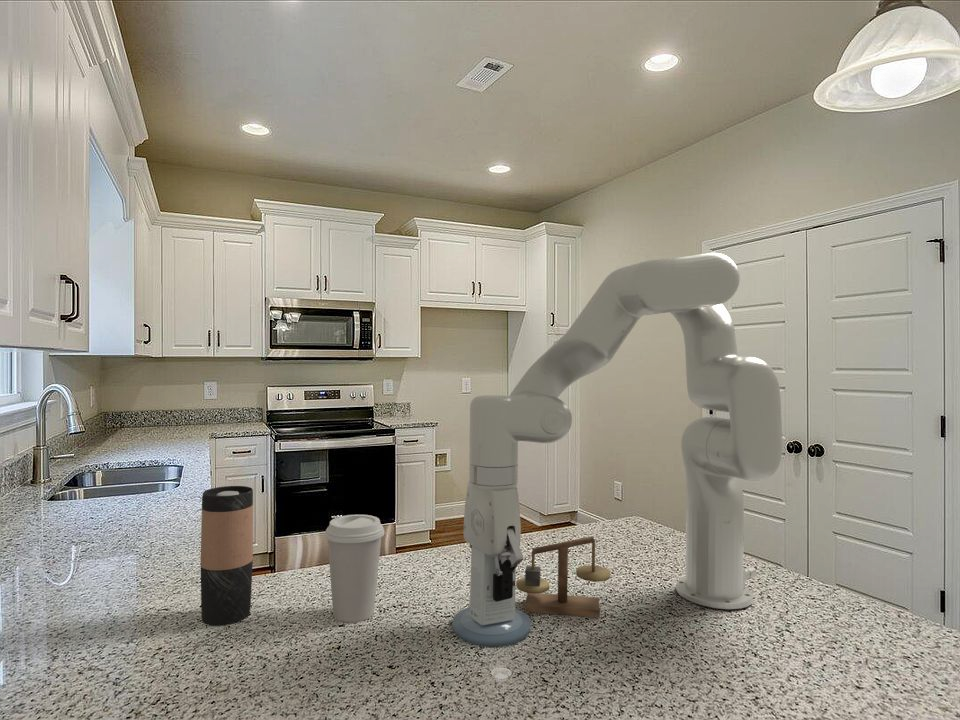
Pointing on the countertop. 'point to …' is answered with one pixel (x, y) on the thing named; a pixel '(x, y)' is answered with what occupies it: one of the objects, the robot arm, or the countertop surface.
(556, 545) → the balance
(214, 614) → the travel mug
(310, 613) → the countertop surface
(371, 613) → the coffee cup
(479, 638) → the dish
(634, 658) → the countertop surface
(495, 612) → the skincare box
